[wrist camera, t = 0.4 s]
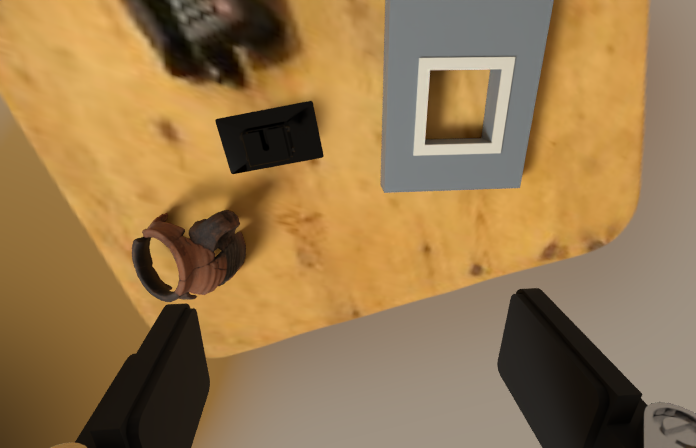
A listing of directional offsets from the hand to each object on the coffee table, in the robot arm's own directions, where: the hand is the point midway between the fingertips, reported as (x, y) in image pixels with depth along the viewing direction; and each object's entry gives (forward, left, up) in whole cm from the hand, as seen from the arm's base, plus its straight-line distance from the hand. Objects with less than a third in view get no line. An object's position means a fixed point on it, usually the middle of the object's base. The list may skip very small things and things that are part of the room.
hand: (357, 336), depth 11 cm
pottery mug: (+10, -13, -30) cm, 34 cm away
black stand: (0, -6, -30) cm, 30 cm away
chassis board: (-5, +12, -29) cm, 32 cm away
